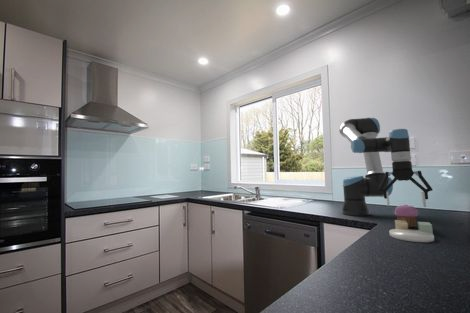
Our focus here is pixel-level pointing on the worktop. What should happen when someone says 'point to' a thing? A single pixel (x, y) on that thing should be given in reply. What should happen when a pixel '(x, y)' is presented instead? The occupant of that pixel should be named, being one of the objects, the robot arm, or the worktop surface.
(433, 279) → the worktop surface
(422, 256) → the worktop surface
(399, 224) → the beech brick
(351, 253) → the worktop surface
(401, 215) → the cupcake
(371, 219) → the worktop surface
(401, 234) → the plate
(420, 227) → the sage block
